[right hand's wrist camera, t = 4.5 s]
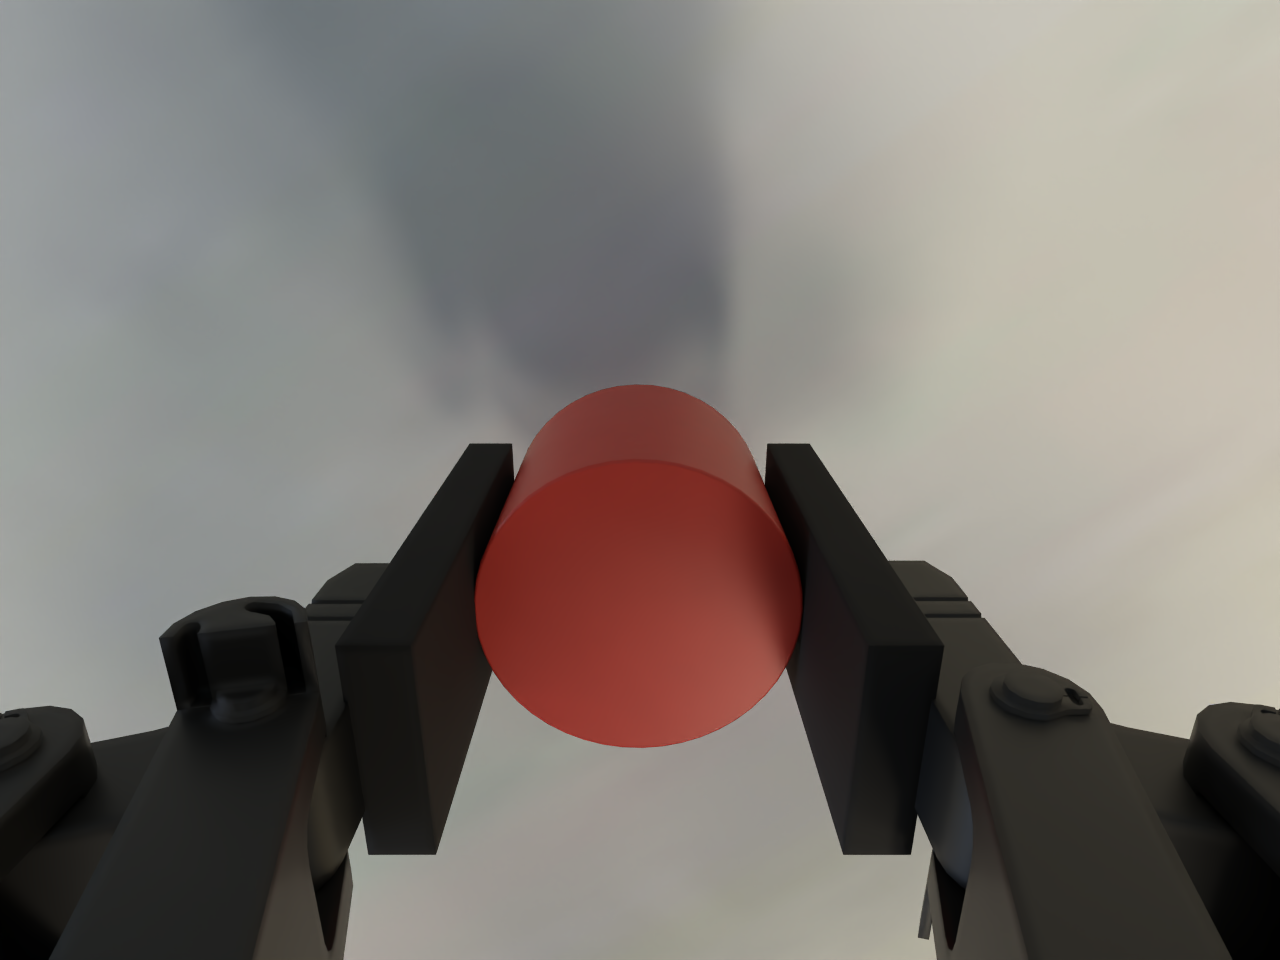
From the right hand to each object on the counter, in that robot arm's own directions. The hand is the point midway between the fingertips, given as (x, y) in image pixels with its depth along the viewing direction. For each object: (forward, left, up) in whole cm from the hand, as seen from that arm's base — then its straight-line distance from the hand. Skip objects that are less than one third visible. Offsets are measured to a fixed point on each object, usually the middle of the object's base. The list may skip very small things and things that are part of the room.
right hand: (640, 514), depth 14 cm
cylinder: (0, 0, 0) cm, 0 cm away
